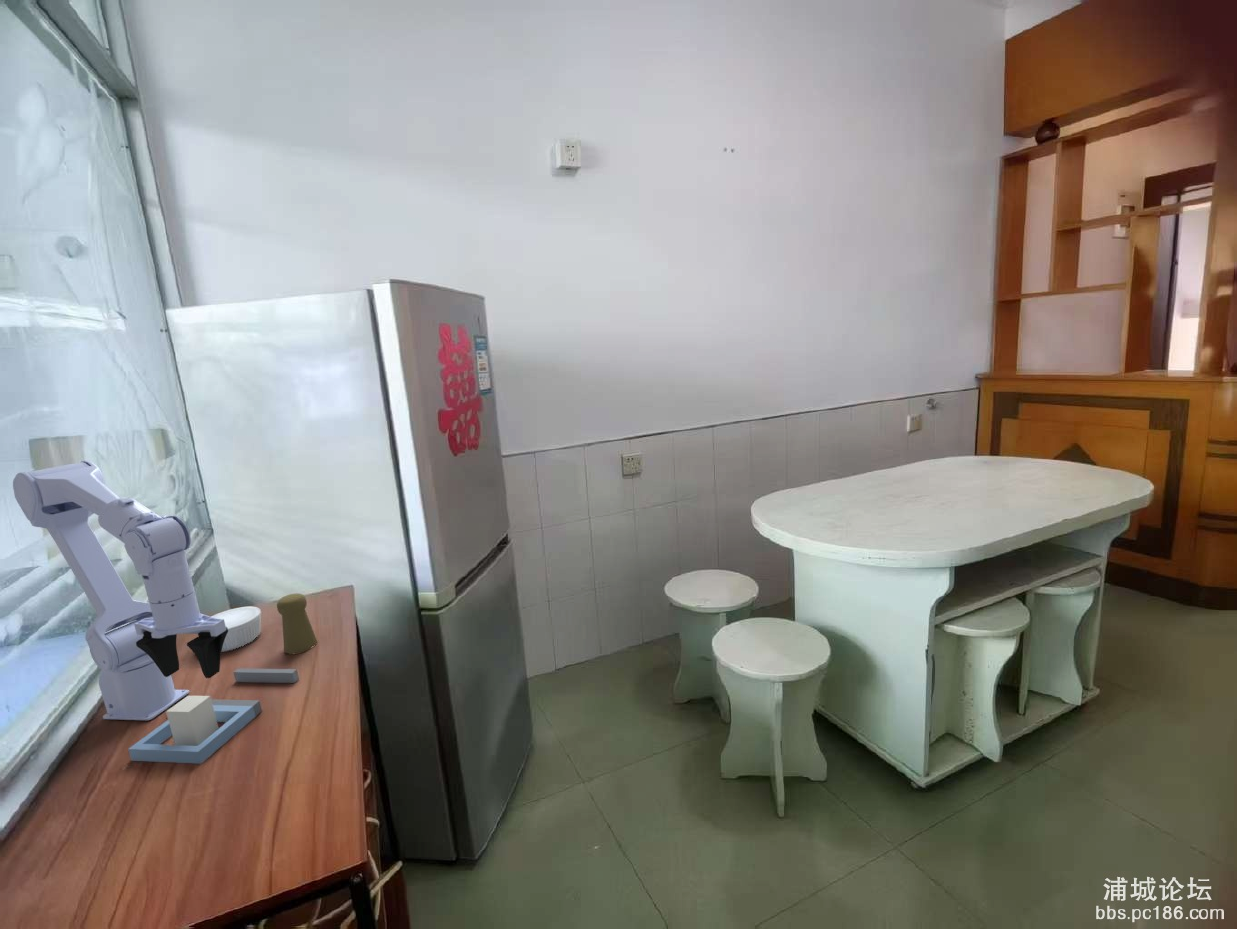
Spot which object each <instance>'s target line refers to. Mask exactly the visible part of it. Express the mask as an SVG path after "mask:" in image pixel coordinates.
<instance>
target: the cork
mask: <svg viewBox="0 0 1237 929" xmlns="http://www.w3.org/2000/svg"><path fill="white" fill-rule="evenodd" d="M276 603H277V604H276V609H277V611H278V614H279V615H281V621H282V635H283V652H284V653H285V654H286V653H289V654H288V655H294V654H293V653H298V654H301V652H302V653H304V651H305V652H307V651H309V650H311V649H312V648H311V647H312V646H314V645H315V644H316V643H317V644H318V640H317V637H316V634H315V632H314V630H313V627H312V624H311V621H310V619H309V616H308V614H307V610H306V607H307V603H308V602H307V598H306V597H305V595H304V594H303V593H290V594H287V595H283V596H282V597H281V598H279V599H278V601H277V602H276ZM317 644H316V645H317ZM316 645H315V646H316ZM315 646H314V647H315ZM310 648H311V649H310ZM308 649H309V650H308ZM306 650H307V651H306Z"/></svg>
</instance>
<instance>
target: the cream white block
mask: <svg viewBox="0 0 1237 929" xmlns="http://www.w3.org/2000/svg"><path fill="white" fill-rule="evenodd" d="M211 699H212V697H211V696H210V695H186V697H185V696H184V697H183V699H180V700H179V701H178V702H176V704H173V705H172V707H169V708H168V709H166V710H165V714H166V717H167V720H169V724H170V728H171V731H172V738H173V742H174V745H188V746H198V745H200V744H201V743H202V742H203V741H204V740H206V739H207V738H208V737H209V736H210V735H212V734H213V733H214V732H215V731H217V730H218V729H219V728H220V727H219V725H218V722H217V720H216V716H215V712H214V708H213V704H212V700H211Z"/></svg>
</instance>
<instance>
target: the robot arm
mask: <svg viewBox="0 0 1237 929" xmlns="http://www.w3.org/2000/svg"><path fill="white" fill-rule="evenodd" d="M12 488H13V494H14V498H15V500H16V502H17V504H18V506H19V508H20V509H21V511H22V512H23V514H24V516H25V518H26V520H28V521H29V523H30V524H31V526H33V527H35V528H40V529H46V530H47V532H48V533H49V534H50V536H51V538H52V540H53V542H54V543H55V544H56V546H57V548H58V549H59V551H60V553H61V555H62V556H63V558H64V560H65V561H66V563H67V564H68V567H69V568H70V571H71V572H72V574H73V576H74V577H75V579H76V580H77V582H78V584H79V586H80V587H81V589H82V590H83V593H84V594H85V595H86V598H87V600H88V601H89V603H90V604H91V607H92V608H93V609H94V611H95V613H96V615H97V616H96V617H95V619H94V620H93V622H92V623H91V625H89V626H88V629H87V630H86V632H85V636H84V637H85V641H86V643H87V645H88V648H89V653H90V656H91V658H92V661H93V662H94V664H96V666H97V667H98V668H99V669H101V671H100V673H99V675H98V676H99V677H98V686H99V689H100V692H101V696H102V700H103V703H104V707H105V710H106V714H104V715H102V719H103V720H121V721H123V720H124V721H150V720H153V719H155V717H157V716H159V715H160V714H161V713H163V712H164V711H167V710H168V709H169V708H171V706H174V705H175V703H178V702H179V701H181V700H182V698H183V699H184V698H185V696H188V694H189V693H190V690H189V689H175V685H174V681H173V679H172V678H173V677H172V676H173V674H175V673H176V672H178V671H179V670H180V660H179V655H178V650H177V636H178V635H180V634H181V635H182V634H183V635H184V634H188V635H189V634H192V635H193V634H194V635H197V636H196V637H195V638H193V639H192V640H190V641H188V642H186V646H187V647H188V649H190V650H191V651H192V652H193V654H194V655H195V657H196V659H197V661H198V663H199V666H200V669H201V671H202V674H203V676H204V678H205V679H211V678H212V677H213V676H215V675H216V674H218V673H219V672H220V669H221V656H222V652H221V651H222V646H223V643H224V640H225V637H226V635H227V633H228V628H227V627H226V626H225V622H224V619H217V618H213V617H211V616H209V615H208V614H207V615H206V614H203V613H201V612H200V607H199V603H198V598H197V594H196V591H195V588H194V583H193V580H192V575H191V571H190V566H189V564H188V563H189V562H188V558H187V555H186V551H187V550H189V548H190V546H191V542H192V541H191V540H192V539H191V534H190V530H189V528H188V527H187V525H186V523H185V522H184V521H183V520H182V519H181V518H180V517H179V516H177V515H175V514H172V515H167V514H165V515H159V514H157V513H156V512H154V511H153V510H151V509H150V508H148V507H147V506H145V505H144V504H142V503H141V502H139V501H138V500H136V499H134V498H132V497H119V496H118V495H117V494H116V493H115V492H113V491H112V490H111V489H110V488H109V487H108V486H107V485H106V483H105V477H104V475H103V473H102V471H101V469H100V467H99V466H98V465H96V464H95V463H94V462H92V461H90V460H81V461H80V462H76V463H71V464H69V463H68V464H65V465H58V466H54V467H48V468H43V469H38V470H32V471H31V470H30V471H27V472H26V471H21V472H18V473H17V474H16V475H15V477H14V478H13V480H12ZM94 514H95V515H97V516H98V518H97V521H98V524H99V526H100V527H101V528H102V529H103V530H104V531H107V532H108V533H109V534H110V535H112V536H113V537H115V538H116V539H117V540H119V541H120V542H122V543H123V545H124V549H125V551H126V554H127V555H128V557H129V558H130V559H131V561H132V563H133V565H134V569H135V572H136V574H138V575H141V577H142V578H141V579H142V581H143V585H144V589H145V592H146V596H147V600H148V601H141V600H135V599H133V597H132V595H131V594H130V592H129V590H128V589H127V587H126V585H125V582H123V580H122V578H121V577H120V575H119V573H118V572H117V570H116V568H115V566H114V564H113V563H112V562H111V560H110V558H109V556H108V554H107V553H106V551H105V549H104V548H103V546H102V544H101V542H100V541H99V538H98V537H97V535H96V533H95V532H94V531H93V529H92V527H91V525H90V524H89V518H90V517H91V516H92V515H94Z"/></svg>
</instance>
